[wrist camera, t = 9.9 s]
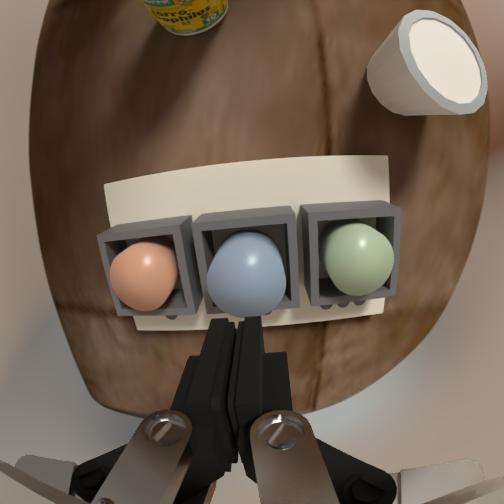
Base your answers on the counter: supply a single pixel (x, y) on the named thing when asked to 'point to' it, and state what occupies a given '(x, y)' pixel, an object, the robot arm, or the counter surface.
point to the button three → (355, 256)
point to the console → (259, 218)
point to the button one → (145, 273)
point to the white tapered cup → (427, 68)
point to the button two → (247, 274)
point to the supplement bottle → (187, 14)
